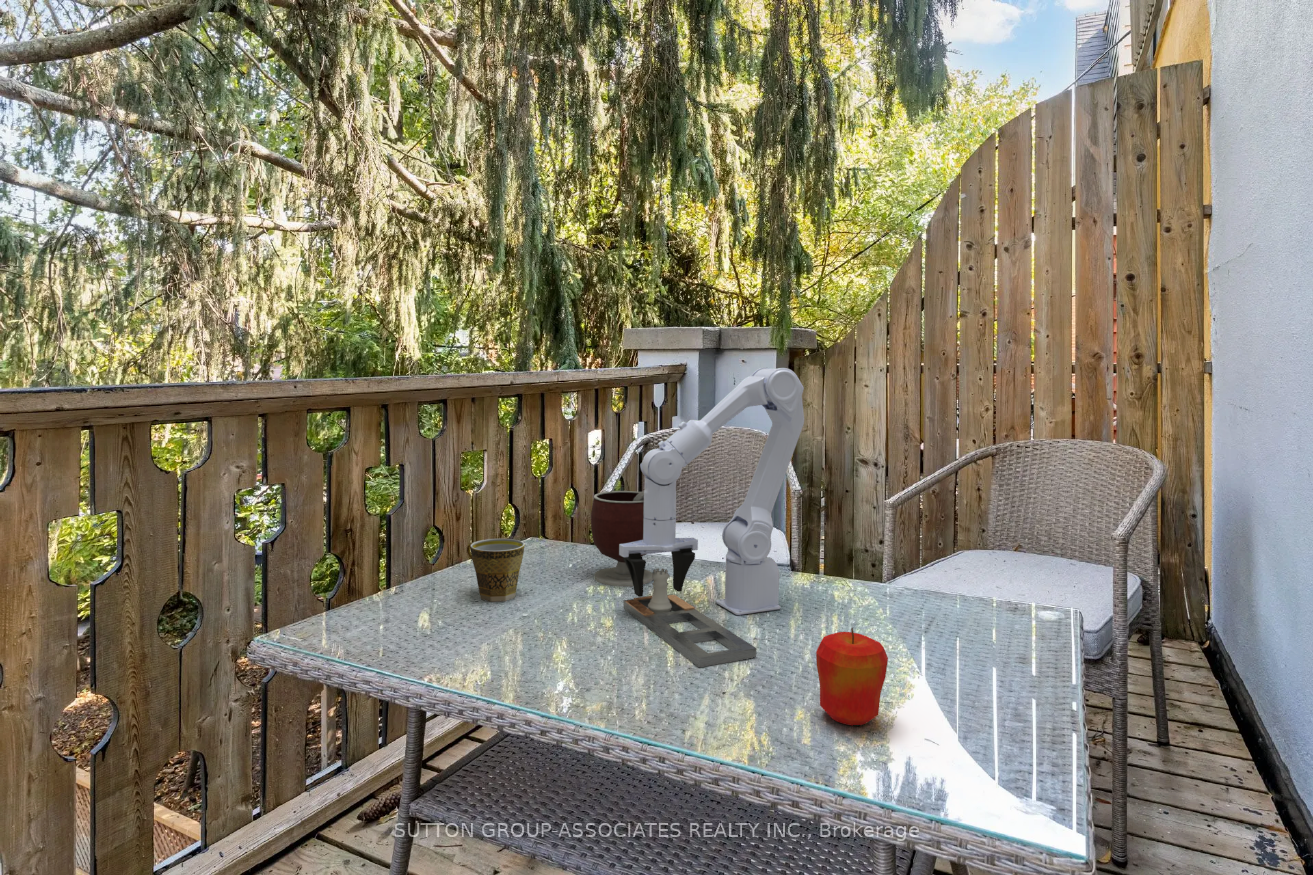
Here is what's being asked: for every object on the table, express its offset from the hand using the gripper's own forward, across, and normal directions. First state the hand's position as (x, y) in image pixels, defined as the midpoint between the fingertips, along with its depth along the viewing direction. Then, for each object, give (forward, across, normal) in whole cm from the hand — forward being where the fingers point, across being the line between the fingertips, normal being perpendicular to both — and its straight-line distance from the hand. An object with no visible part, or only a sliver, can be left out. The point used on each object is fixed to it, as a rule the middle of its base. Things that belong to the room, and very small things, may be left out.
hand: (658, 592), depth 134 cm
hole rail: (+4, 0, -10) cm, 11 cm away
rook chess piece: (+4, 0, -1) cm, 4 cm away
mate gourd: (+4, +3, +22) cm, 22 cm away
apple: (+4, +5, -46) cm, 47 cm away
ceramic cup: (+4, -25, +21) cm, 33 cm away
